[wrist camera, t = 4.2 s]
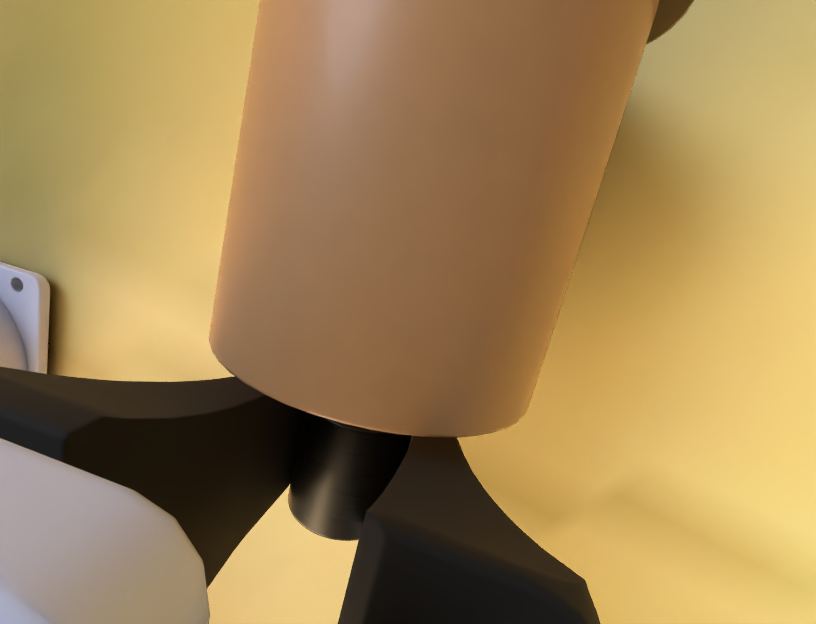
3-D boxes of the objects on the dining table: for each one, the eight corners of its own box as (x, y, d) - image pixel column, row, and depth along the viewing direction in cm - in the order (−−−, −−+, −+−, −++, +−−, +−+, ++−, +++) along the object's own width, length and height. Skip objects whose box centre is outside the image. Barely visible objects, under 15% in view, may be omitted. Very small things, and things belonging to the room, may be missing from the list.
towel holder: (112, -353, 5) (42, 560, 7) (905, -312, 4) (499, 758, 6) (347, 4, 12) (273, 397, 15) (635, 55, 11) (500, 473, 13)
